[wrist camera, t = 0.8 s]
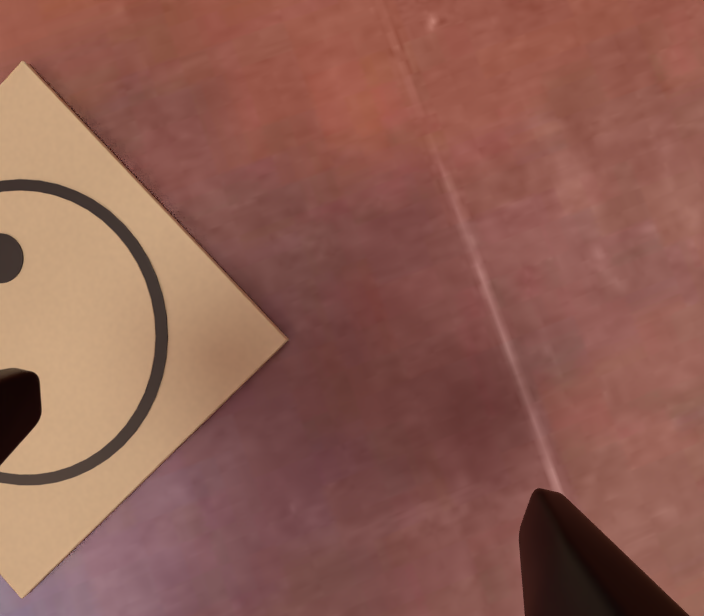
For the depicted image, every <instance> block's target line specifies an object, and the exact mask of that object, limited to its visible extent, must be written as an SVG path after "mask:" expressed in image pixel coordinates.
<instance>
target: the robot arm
mask: <svg viewBox="0 0 704 616" xmlns="http://www.w3.org/2000/svg"><path fill="white" fill-rule="evenodd" d="M41 413H42V405H41V390H40V379H39V377H38V375H37V374H36V373H35V372H32V371H28V370H23V369H19V368H7V369H2V370H0V466H1V464H2V463H3V462H4V461H5V460H6V459H7V458H8V456H9V455H10V454H11V453H12V452H13V451H14V450H15V449H16V447H17V446H18V445H19V444H20V443H21V442H22V441H23V440H24V438H25V437H26V436H27V435H28V434H29V433H30V432H31V431H32V429H33V428H34V427H35V426H36V425H37V423H38V422H39V420H40V417H41ZM519 548H520V560H521V573H522V586H523V598H524V611H525V616H689V615H688V614H687V613H686V612H685V611H684V610H683V609H682V608H681V607H680V606H679V605H678V604H677V603H676V602H675V601H674V600H672V599H671V598H670V597H669V596H668V595H667V594H666V593H665V592H664V591H663V590H662V589H661V588H660V587H659V586H658V585H657V584H656V583H655V582H654V581H653V580H652V579H651V578H649V577H648V576H647V575H646V574H645V573H644V572H643V571H642V570H641V569H640V568H639V567H638V566H637V565H636V564H635V563H634V562H633V561H632V560H631V559H630V558H629V557H628V556H627V555H625V554H624V553H623V552H622V551H621V550H620V549H619V548H618V547H617V546H616V545H615V544H614V543H613V542H612V541H611V540H610V539H609V538H608V537H607V536H606V535H605V534H604V533H603V532H601V531H600V530H599V529H598V528H597V527H596V526H595V525H594V524H593V523H592V522H591V521H590V520H589V519H588V518H587V517H586V516H585V515H584V514H583V513H582V512H581V511H580V510H579V509H577V508H576V507H575V506H574V505H573V504H572V503H571V502H570V501H569V500H568V499H567V498H566V497H565V496H564V495H563V494H561V493H558V492H554V491H550V490H545V489H541V488H538V489H536V490H534V492H533V493H532V495H531V498H530V501H529V504H528V506H527V509H526V512H525V515H524V518H523V520H522V523H521V526H520V531H519Z"/></svg>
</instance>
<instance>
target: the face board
mask: <svg viewBox="0 0 704 616" xmlns="http://www.w3.org/2000/svg"><path fill="white" fill-rule="evenodd" d="M288 340H289V339H288V338H287V337H286V336H285V335H284V334H283V333H282V331H281V330H280V329H279V328H278V327H277V326H276V325H275V324H274V323H273V322H272V321H271V320H270V319H269V318H268V317H267V316H266V315H265V313H264V312H263V311H262V310H261V309H260V308H259V307H258V306H257V305H256V304H255V303H254V302H253V301H252V300H251V299H250V298H249V297H248V296H247V294H246V293H245V292H244V291H243V290H242V289H241V288H240V287H239V286H238V285H237V284H236V283H235V282H234V281H233V280H232V279H231V278H230V276H229V275H228V274H227V273H226V272H225V271H224V270H223V269H222V268H221V267H220V266H219V265H218V264H217V263H216V262H215V261H214V260H213V258H212V257H211V256H210V255H209V254H208V253H207V252H206V251H205V250H204V249H203V248H202V247H201V246H200V245H199V244H198V243H197V242H196V241H195V239H194V238H193V237H192V236H191V235H190V234H189V233H188V232H187V231H186V230H185V229H184V228H183V227H182V226H181V225H180V224H179V223H178V221H177V220H176V219H175V218H174V217H173V216H172V215H171V214H170V213H169V212H168V211H167V210H166V209H165V208H164V207H163V206H162V205H161V203H160V202H159V201H158V200H157V199H156V198H155V197H154V196H153V195H152V194H151V193H150V192H149V191H148V190H147V189H146V188H145V187H144V186H143V184H142V183H141V182H140V181H139V180H138V179H137V178H136V177H135V176H134V175H133V174H132V173H131V172H130V171H129V170H128V169H127V168H126V166H125V165H124V164H123V163H122V162H121V161H120V160H119V159H118V158H117V157H116V156H115V155H114V154H113V153H112V152H111V151H110V150H109V149H108V147H107V146H106V145H105V144H104V143H103V142H102V141H101V140H100V139H99V138H98V137H97V136H96V135H95V134H94V133H93V132H92V131H91V129H90V128H89V127H88V126H87V125H86V124H85V123H84V122H83V121H82V120H81V119H80V118H79V117H78V116H77V115H76V114H75V113H74V111H73V110H72V109H71V108H70V107H69V106H68V105H67V104H66V103H65V102H64V101H63V100H62V99H61V98H60V97H59V96H58V95H57V94H56V92H55V91H54V90H53V89H52V88H51V87H50V86H49V85H48V84H47V83H46V82H45V81H44V80H43V79H42V78H41V77H40V76H39V74H38V73H37V72H36V71H35V70H34V69H33V68H32V67H31V66H30V65H29V64H27V63H26V62H24V61H21V62H20V64H19V65H18V66H17V67H16V68H15V69H14V70H13V71H12V73H11V74H10V75H9V76H8V77H7V78H6V79H5V80H4V81H3V83H2V84H1V85H0V370H2V369H7V368H19V369H23V370H28V371H32V372H35V373H36V374H37V375H38V377H39V379H40V390H41V405H42V413H41V417H40V420H39V422H38V423H37V425H36V426H35V427H34V428H33V429H32V431H31V432H30V433H29V434H28V435H27V436H26V437H25V438H24V440H23V441H22V442H21V443H20V444H19V445H18V446H17V447H16V449H15V450H14V451H13V452H12V453H11V454H10V455H9V456H8V458H7V459H6V460H5V461H4V462H3V463H2V464H1V466H0V575H1V576H2V577H3V578H4V579H5V580H6V581H7V583H8V584H9V585H10V586H11V587H12V588H13V590H14V591H15V592H16V593H17V594H18V595H19V596H20V598H24V597H25V596H26V595H28V594H29V593H30V592H31V591H32V590H33V589H34V588H35V587H36V586H37V585H38V584H39V583H40V582H41V581H42V580H43V579H44V578H45V577H46V576H47V575H48V574H49V573H50V572H51V571H52V570H53V569H54V568H55V567H56V566H57V565H59V564H60V563H61V562H62V561H63V560H64V559H65V558H66V557H67V556H68V555H69V554H70V553H71V552H72V551H73V550H74V549H75V548H76V547H77V546H78V545H79V544H80V543H81V542H82V541H83V540H84V539H85V538H86V537H87V536H88V535H89V534H90V533H91V532H92V531H93V530H94V529H95V528H96V527H97V526H99V525H100V524H101V523H102V522H103V521H104V520H105V519H106V518H107V517H108V516H109V515H110V514H111V513H112V512H113V511H114V510H115V509H116V508H117V507H118V506H119V505H120V504H121V503H122V502H123V501H124V500H125V499H126V498H127V497H128V496H129V495H130V494H131V493H132V492H133V491H134V490H135V489H136V488H137V487H139V486H140V485H141V484H142V483H143V482H144V481H145V480H146V479H147V478H148V477H149V476H150V475H151V474H152V473H153V472H154V471H155V470H156V469H157V468H158V467H159V466H160V465H161V464H162V463H163V462H164V461H165V460H166V459H167V458H168V457H169V456H170V455H171V454H172V453H173V452H174V451H175V450H176V449H177V448H179V447H180V446H181V445H182V444H183V443H184V442H185V441H186V440H187V439H188V438H189V437H190V436H191V435H192V434H193V433H194V432H195V431H196V430H197V429H198V428H199V427H200V426H201V425H202V424H203V423H204V422H205V421H206V420H207V419H208V418H209V417H210V416H211V415H212V414H213V413H214V412H215V411H216V410H217V409H219V408H220V407H221V406H222V405H223V404H224V403H225V402H226V401H227V400H228V399H229V398H230V397H231V396H232V395H233V394H234V393H235V392H236V391H237V390H238V389H239V388H240V387H241V386H242V385H243V384H244V383H245V382H246V381H247V380H248V379H249V378H250V377H251V376H252V375H253V374H254V373H255V372H256V371H257V370H258V369H260V368H261V367H262V366H263V365H264V364H265V363H266V362H267V361H268V360H269V359H270V358H271V357H272V356H273V355H274V354H275V353H276V352H277V351H278V350H279V349H280V348H281V347H282V346H283V345H284V344H285V343H286V342H287V341H288Z"/></svg>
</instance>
